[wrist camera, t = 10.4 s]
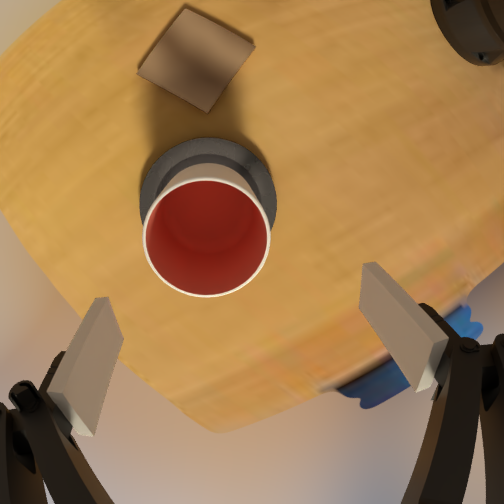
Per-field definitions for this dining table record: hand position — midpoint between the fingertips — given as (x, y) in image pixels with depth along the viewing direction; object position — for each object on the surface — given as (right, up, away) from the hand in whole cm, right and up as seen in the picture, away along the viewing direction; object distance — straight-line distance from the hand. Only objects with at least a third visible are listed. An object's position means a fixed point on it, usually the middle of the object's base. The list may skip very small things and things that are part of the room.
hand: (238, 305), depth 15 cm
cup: (-4, +7, +18) cm, 20 cm away
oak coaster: (-5, +23, +12) cm, 27 cm away
